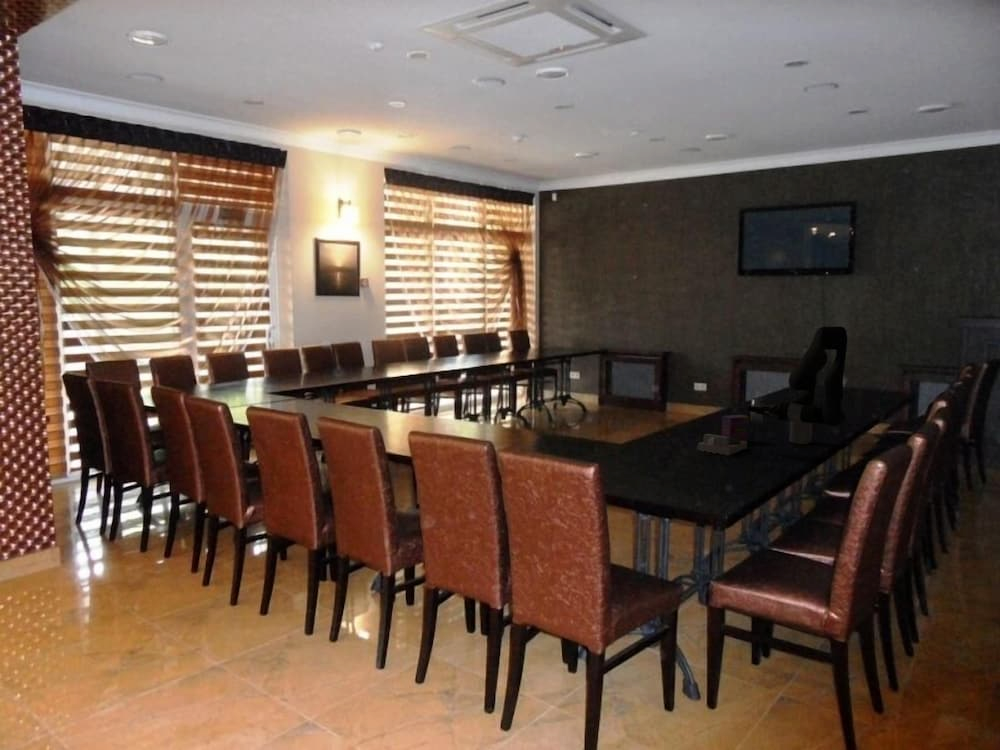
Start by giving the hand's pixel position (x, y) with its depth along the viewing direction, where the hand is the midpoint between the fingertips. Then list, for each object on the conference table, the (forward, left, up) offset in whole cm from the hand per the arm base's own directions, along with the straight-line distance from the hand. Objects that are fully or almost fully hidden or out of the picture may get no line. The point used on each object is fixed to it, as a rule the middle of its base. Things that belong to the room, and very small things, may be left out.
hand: (750, 407), depth 306 cm
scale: (+4, -10, -19) cm, 22 cm away
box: (-16, -13, -19) cm, 28 cm away
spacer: (0, +3, -6) cm, 7 cm away
